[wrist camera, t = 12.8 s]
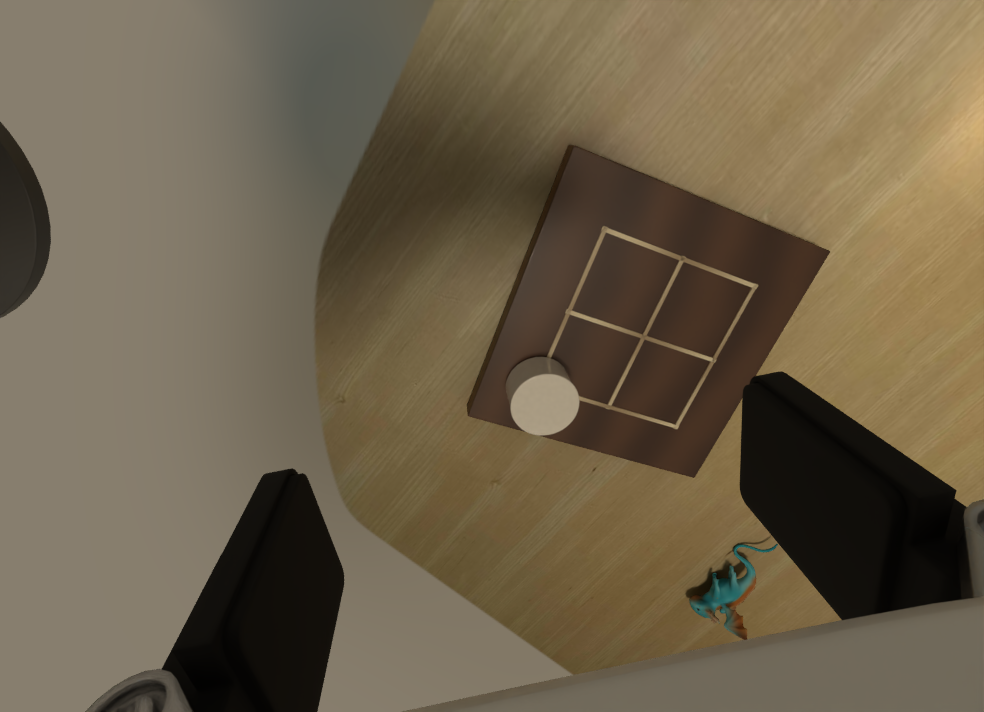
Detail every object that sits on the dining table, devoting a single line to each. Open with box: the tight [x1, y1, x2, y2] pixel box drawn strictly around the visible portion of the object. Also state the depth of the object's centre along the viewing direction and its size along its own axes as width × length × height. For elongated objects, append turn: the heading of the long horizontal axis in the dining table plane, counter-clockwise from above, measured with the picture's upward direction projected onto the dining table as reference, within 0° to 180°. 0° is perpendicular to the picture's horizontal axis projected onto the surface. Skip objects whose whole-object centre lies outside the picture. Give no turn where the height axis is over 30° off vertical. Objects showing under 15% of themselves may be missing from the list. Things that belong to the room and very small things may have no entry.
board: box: [467, 145, 830, 478], centre depth 38 cm, size 20×20×2 cm
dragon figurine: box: [689, 544, 778, 640], centre depth 48 cm, size 6×7×8 cm
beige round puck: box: [505, 357, 579, 435], centre depth 37 cm, size 5×5×3 cm
